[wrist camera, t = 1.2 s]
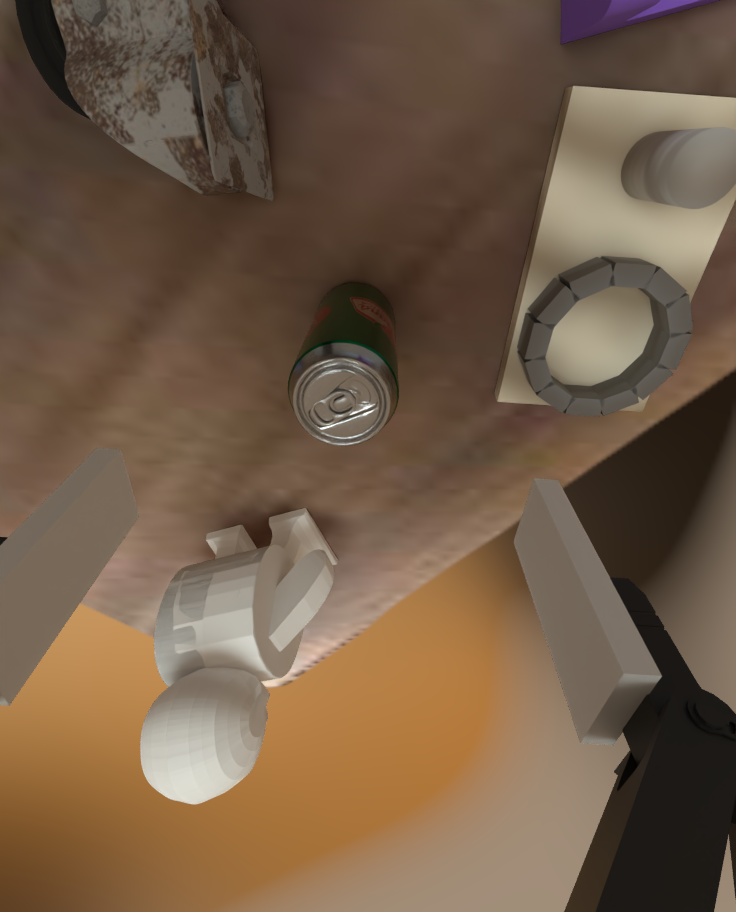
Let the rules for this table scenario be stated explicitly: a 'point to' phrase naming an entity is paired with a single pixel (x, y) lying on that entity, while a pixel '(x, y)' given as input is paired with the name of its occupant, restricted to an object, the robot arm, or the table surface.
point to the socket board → (618, 247)
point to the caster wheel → (159, 84)
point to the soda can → (347, 367)
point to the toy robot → (229, 653)
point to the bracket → (614, 14)
